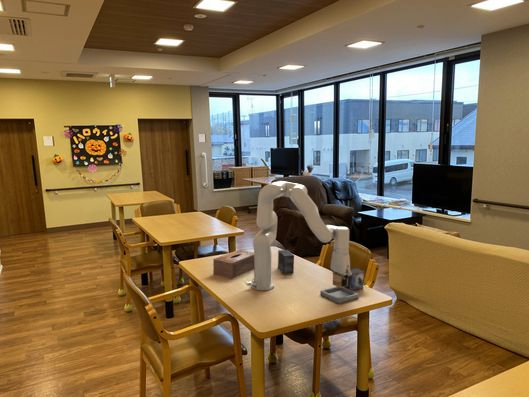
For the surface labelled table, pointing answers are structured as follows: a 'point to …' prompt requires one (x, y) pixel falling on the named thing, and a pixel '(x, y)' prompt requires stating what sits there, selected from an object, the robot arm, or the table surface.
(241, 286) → the table surface
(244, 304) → the table surface
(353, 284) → the small box
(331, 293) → the tray
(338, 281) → the block
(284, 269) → the small box
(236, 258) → the tissue box cover
